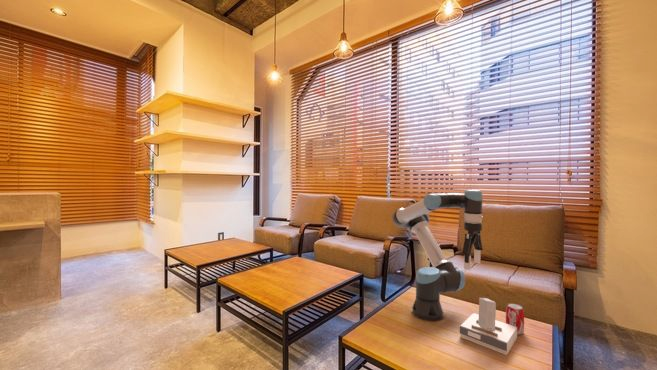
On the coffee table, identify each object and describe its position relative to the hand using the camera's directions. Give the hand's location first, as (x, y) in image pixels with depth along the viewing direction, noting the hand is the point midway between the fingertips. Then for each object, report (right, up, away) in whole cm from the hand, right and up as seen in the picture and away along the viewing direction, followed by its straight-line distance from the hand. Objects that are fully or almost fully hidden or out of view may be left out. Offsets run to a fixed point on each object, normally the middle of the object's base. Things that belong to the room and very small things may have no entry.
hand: (472, 266), depth 134 cm
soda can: (+17, -29, -5) cm, 34 cm away
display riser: (+2, -29, -10) cm, 31 cm away
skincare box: (-1, -24, -13) cm, 27 cm away
